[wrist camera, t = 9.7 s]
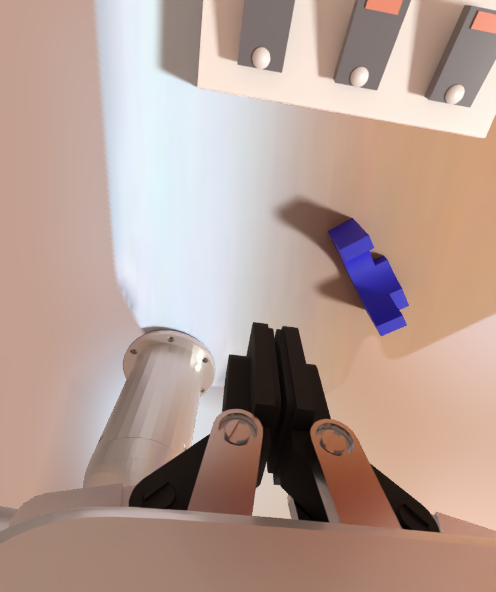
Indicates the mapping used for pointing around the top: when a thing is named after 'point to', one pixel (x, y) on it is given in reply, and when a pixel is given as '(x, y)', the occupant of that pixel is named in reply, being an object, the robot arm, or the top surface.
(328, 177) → the top surface
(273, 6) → the grey rectangular block
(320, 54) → the power strip
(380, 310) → the cable clip
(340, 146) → the top surface
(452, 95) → the grey flat block
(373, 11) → the block
